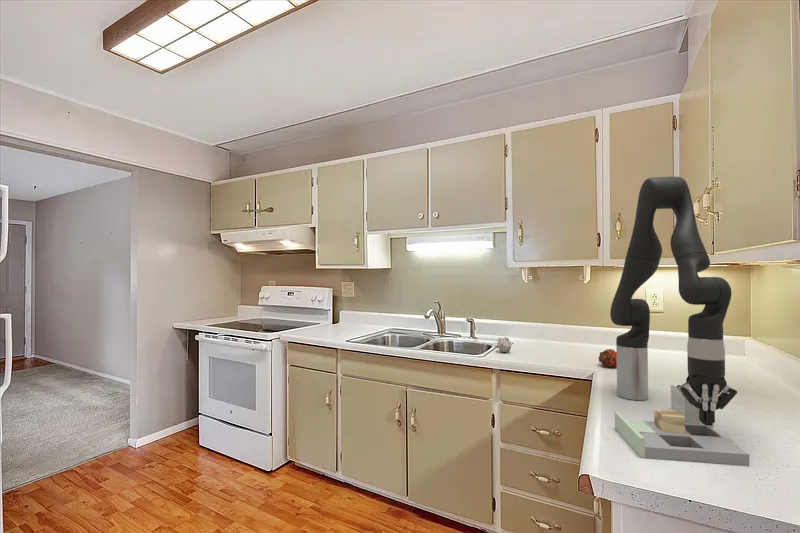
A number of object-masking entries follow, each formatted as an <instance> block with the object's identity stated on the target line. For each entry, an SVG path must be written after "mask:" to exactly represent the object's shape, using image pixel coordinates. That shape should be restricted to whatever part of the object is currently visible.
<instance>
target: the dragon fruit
mask: <svg viewBox="0 0 800 533" xmlns="http://www.w3.org/2000/svg"><path fill="white" fill-rule="evenodd" d="M598 362H599V363H600V364H601V365H603V366H604V367H607V368H609V369H611V368H613V367H615V368H617V352H616V350H614V349H611V348H609V349H604V350H603V351H600V352H599V355H598Z"/></svg>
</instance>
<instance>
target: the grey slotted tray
mask: <svg viewBox="0 0 800 533" xmlns="http://www.w3.org/2000/svg"><path fill="white" fill-rule="evenodd" d="M614 429H615V430H616V431H617V433H620V434H619V435H620V436H621V437H622V438H623V440H624V441H625V442H626V443H627V444H628V445H629V447H630V448H631V449H632V450H633V451H634V453H636V454H637V456H638V457H639V458H642V459H656V460H666V461H667V460H668V461H669V460H670V461H679V462H680V461H681V462H682V461H683V462H694V463H695V462H697V463H707V464H708V463H709V464H721V465H722V464H723V465H732V466H733V465H734V466H746V467H750V453H748V452H746V451H745V450H744V449H742V448H741V447H739V446H738V445H736V444H735V443H734V442H731V441H730V440H729V439H727V438H726V437H725V436H724V435H721V434H720V433H719V432H717V431H715V430H714V429H712V427H708V426H707V425H704V424H687V423H685V433H673V432H663V431H661V430H660V429H659V428H658V427H657V426H656V425H655V424H654V421H652V420H651V421H650V420H635V419H633V420H632V419H626V418H625V416H623V415H622V414H621V413H620V412H619V411H614Z"/></svg>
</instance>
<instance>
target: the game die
mask: <svg viewBox="0 0 800 533" xmlns="http://www.w3.org/2000/svg"><path fill="white" fill-rule="evenodd" d="M513 344H514V343H513V342H511V341H510V340H509V338H507V337H506V336H505V337H502V338H500V337H498V340H497V343H496V345H495V347H494V348H497V349H499V352H502V354H504V353H507V352H508V353H511V351H510V350H511V349H512V348H511V347H512V345H513Z"/></svg>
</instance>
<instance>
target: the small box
mask: <svg viewBox="0 0 800 533" xmlns="http://www.w3.org/2000/svg"><path fill="white" fill-rule="evenodd" d="M683 384H684V383H681V384H680V383H679V384H677V383H675V384H673V383H672V384H670V410H676V411H677V412H678V413H680V414H681V415H683V416H684V417H685V423H687V424H703V423H702V422H701V421H700V420H699V408H696V407H695V406H693V405H691V404H690V403H689V402H688V400H687V399H686V398H685V397H684V396H683V395H682V393H681V392H680V391H679V390H678V389H677V386H678V385H683ZM690 390H691V392H690V394H691V395H692V396H693V397H694V398H695V399H696V401H697V398H696V395H695V392H694V391H693V390H692V389H691V387H690ZM707 426H708V425H707ZM708 427H710V428H713V427H714V425H712V426H708Z"/></svg>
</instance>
